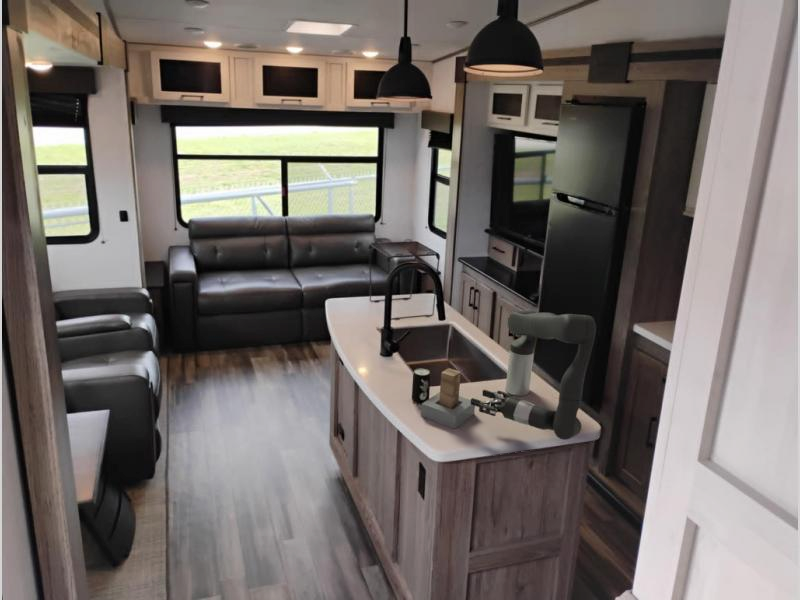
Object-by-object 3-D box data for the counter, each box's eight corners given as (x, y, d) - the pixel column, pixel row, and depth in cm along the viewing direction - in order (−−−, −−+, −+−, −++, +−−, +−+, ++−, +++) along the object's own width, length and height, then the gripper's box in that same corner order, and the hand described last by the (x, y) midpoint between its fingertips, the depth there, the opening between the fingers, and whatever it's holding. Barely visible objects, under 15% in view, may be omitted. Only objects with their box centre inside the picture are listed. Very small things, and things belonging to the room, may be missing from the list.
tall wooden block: (445, 407, 229) (448, 368, 224) (457, 412, 227) (460, 371, 222) (438, 413, 225) (441, 372, 220) (450, 417, 223) (453, 376, 218)
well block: (441, 402, 236) (442, 390, 234) (474, 413, 228) (475, 401, 226) (421, 416, 225) (421, 403, 223) (454, 428, 217) (455, 415, 215)
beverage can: (414, 405, 232) (416, 375, 229) (409, 397, 238) (411, 368, 235) (431, 403, 234) (433, 374, 230) (425, 396, 240) (427, 367, 236)
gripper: (530, 393, 213) (487, 380, 221) (511, 408, 201) (467, 393, 210) (527, 413, 215) (485, 399, 224) (509, 429, 204) (466, 413, 213)
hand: (477, 396), depth 217 cm, fingers open, 8 cm apart
